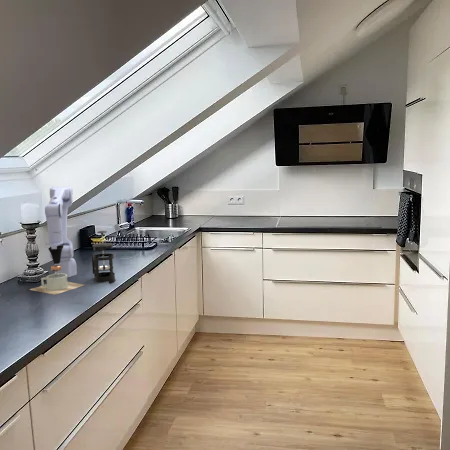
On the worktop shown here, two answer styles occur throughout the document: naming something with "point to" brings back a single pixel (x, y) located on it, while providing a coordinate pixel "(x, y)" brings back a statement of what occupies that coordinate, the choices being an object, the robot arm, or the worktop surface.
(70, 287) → the serving board
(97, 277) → the french press
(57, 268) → the plunger
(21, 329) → the worktop surface
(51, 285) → the faceted mug
